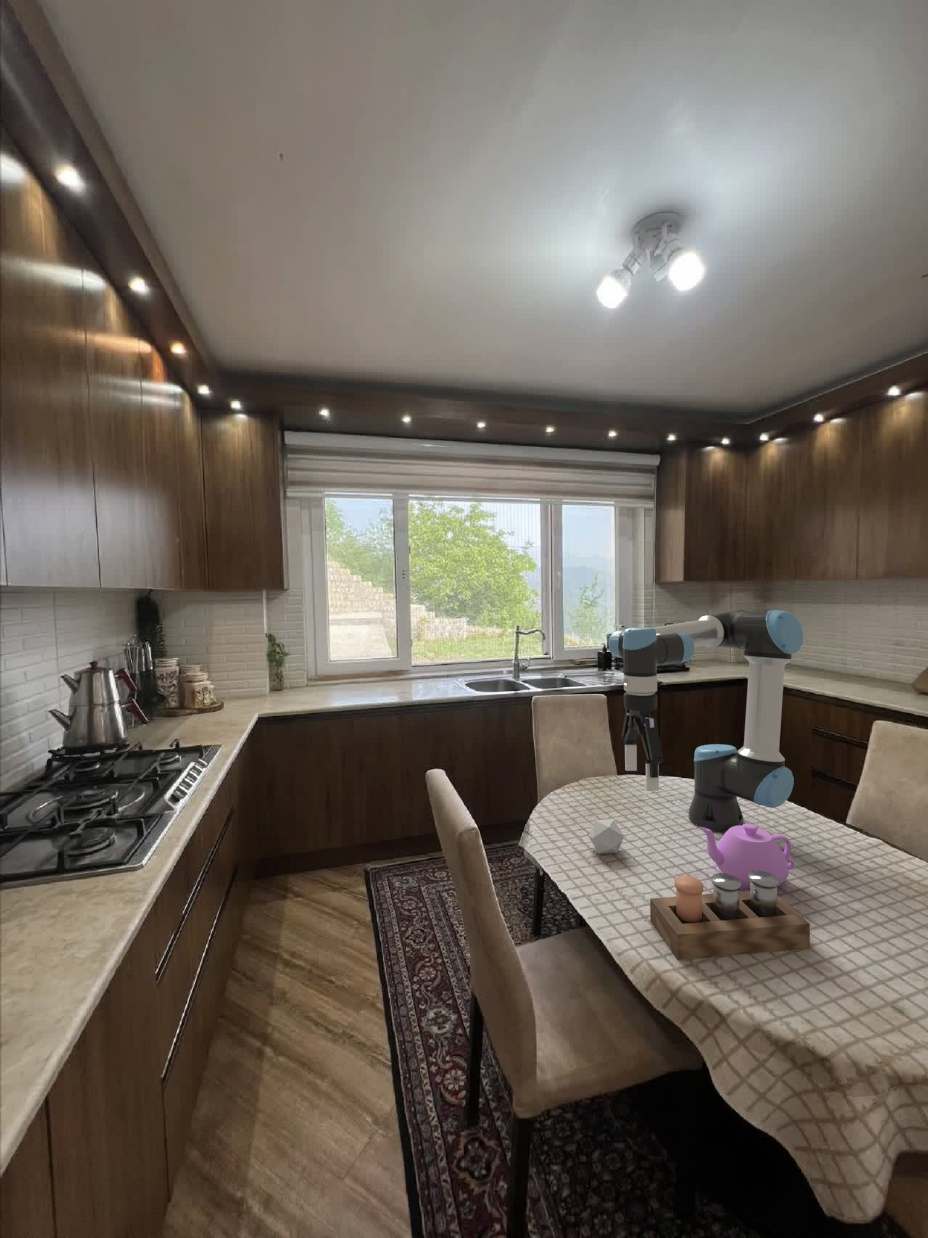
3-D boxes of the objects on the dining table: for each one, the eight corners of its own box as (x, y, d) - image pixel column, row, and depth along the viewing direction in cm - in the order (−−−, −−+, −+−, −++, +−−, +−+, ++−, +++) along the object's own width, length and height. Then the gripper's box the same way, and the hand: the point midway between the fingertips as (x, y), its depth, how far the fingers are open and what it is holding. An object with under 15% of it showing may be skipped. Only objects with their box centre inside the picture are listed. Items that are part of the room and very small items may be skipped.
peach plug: (694, 906, 110) (694, 875, 109) (708, 922, 104) (708, 889, 104) (670, 908, 109) (669, 876, 109) (682, 924, 104) (682, 891, 104)
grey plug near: (767, 900, 111) (767, 869, 111) (784, 916, 106) (784, 883, 105) (742, 902, 111) (742, 871, 110) (759, 918, 105) (759, 885, 105)
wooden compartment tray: (769, 911, 115) (769, 889, 114) (809, 948, 103) (809, 923, 103) (650, 921, 113) (650, 898, 112) (677, 960, 101) (677, 934, 100)
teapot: (712, 899, 120) (712, 840, 119) (688, 864, 135) (687, 812, 135) (812, 900, 118) (812, 841, 118) (776, 864, 134) (776, 812, 133)
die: (617, 864, 137) (633, 829, 140) (586, 846, 139) (602, 811, 141) (609, 860, 145) (623, 827, 148) (580, 843, 147) (595, 810, 149)
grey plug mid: (731, 903, 110) (731, 872, 110) (747, 919, 105) (747, 886, 105) (706, 905, 110) (706, 874, 110) (721, 921, 105) (721, 888, 104)
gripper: (608, 684, 137) (609, 763, 138) (644, 703, 112) (645, 800, 113) (636, 683, 138) (637, 762, 139) (679, 702, 113) (679, 799, 114)
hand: (641, 779), depth 126 cm, fingers open, 13 cm apart
